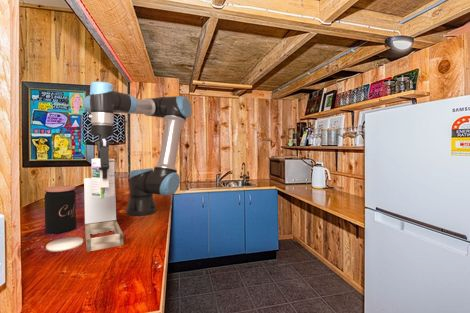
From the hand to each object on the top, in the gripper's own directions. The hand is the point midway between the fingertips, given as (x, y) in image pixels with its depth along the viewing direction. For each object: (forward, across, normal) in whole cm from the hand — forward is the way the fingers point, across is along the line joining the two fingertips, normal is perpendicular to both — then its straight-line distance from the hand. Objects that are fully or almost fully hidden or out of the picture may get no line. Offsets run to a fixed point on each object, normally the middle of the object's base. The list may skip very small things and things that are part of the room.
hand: (103, 185), depth 95 cm
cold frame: (+21, 0, 0) cm, 21 cm away
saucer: (+21, -1, -12) cm, 24 cm away
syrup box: (+5, 0, 0) cm, 5 cm away
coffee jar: (+21, -20, -14) cm, 32 cm away
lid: (+8, -11, 0) cm, 14 cm away
